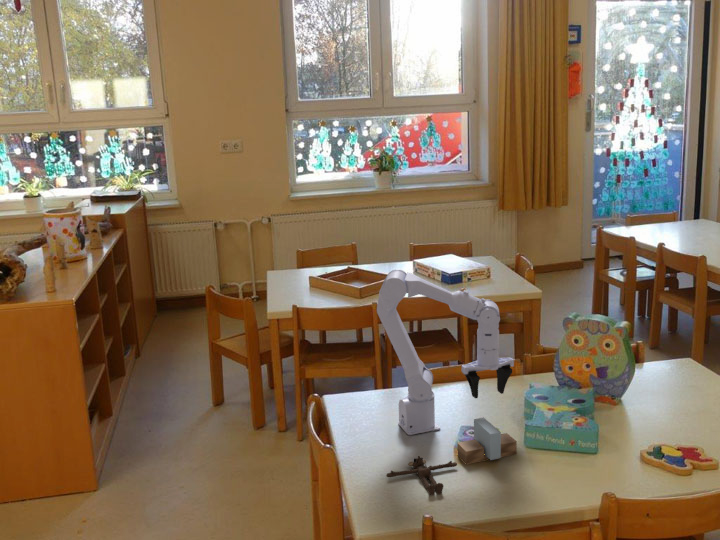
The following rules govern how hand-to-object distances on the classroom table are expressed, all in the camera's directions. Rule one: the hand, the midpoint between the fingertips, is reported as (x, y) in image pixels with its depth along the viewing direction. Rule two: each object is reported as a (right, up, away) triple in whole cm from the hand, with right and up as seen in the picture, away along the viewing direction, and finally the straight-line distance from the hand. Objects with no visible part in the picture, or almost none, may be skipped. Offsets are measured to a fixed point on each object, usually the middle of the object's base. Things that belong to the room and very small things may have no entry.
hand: (487, 394), depth 203 cm
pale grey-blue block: (-2, -12, -12) cm, 17 cm away
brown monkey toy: (-19, -17, -22) cm, 33 cm away
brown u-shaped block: (-2, -13, -12) cm, 18 cm away
